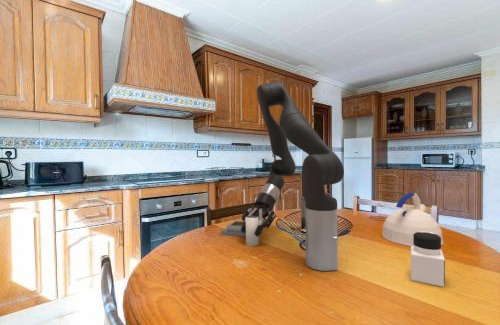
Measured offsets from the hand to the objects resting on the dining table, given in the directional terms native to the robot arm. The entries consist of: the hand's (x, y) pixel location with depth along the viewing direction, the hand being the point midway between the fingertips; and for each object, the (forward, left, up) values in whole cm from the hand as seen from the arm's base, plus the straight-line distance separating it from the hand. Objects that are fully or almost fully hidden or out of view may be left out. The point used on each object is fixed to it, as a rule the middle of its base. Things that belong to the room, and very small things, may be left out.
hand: (249, 233), depth 96 cm
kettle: (-58, -27, -5) cm, 64 cm away
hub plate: (+9, -15, -4) cm, 18 cm away
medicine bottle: (-54, +9, -4) cm, 55 cm away
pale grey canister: (-1, -2, -4) cm, 5 cm away
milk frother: (-23, -27, -5) cm, 36 cm away
